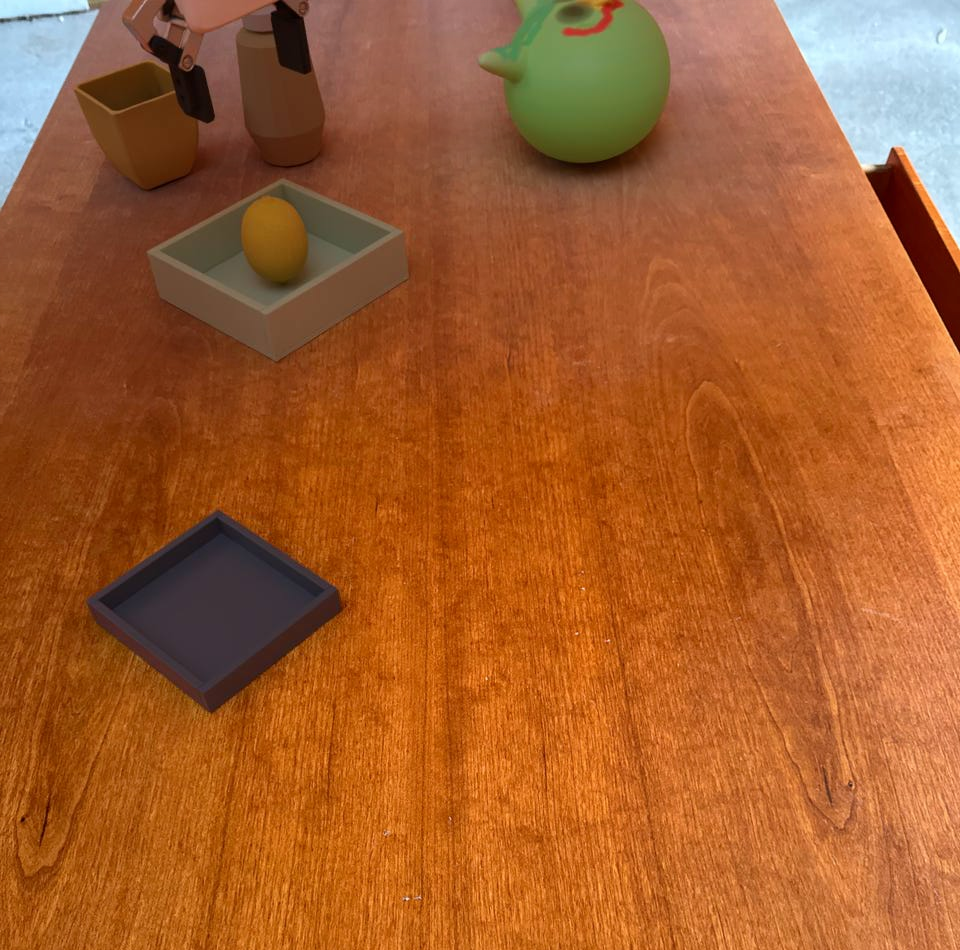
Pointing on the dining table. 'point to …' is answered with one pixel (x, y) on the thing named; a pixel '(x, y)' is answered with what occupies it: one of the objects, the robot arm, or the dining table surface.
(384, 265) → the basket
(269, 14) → the squeeze bottle
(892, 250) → the dining table surface
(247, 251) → the lemon
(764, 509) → the dining table surface
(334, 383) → the dining table surface
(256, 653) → the tray
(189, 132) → the flower pot
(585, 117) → the toy bird
